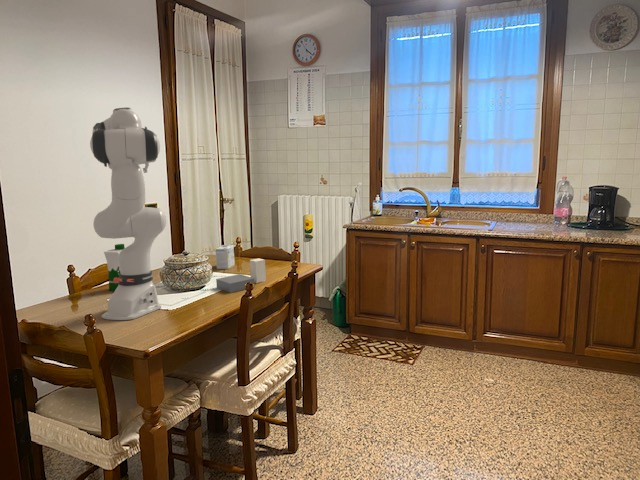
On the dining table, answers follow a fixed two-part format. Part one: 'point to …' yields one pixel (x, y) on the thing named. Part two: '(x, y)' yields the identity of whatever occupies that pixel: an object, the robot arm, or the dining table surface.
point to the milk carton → (113, 265)
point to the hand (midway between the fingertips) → (134, 174)
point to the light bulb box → (225, 256)
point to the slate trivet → (233, 283)
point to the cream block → (258, 270)
